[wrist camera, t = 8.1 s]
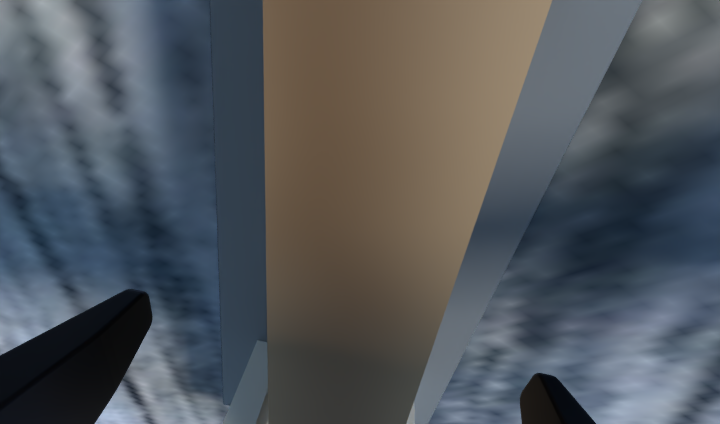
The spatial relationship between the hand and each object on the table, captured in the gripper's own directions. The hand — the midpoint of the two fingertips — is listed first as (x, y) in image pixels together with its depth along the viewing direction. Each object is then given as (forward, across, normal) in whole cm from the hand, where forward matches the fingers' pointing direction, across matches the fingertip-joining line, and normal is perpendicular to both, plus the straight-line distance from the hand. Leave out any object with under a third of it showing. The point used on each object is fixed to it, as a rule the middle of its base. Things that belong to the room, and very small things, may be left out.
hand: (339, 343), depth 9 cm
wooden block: (+6, 0, 0) cm, 6 cm away
